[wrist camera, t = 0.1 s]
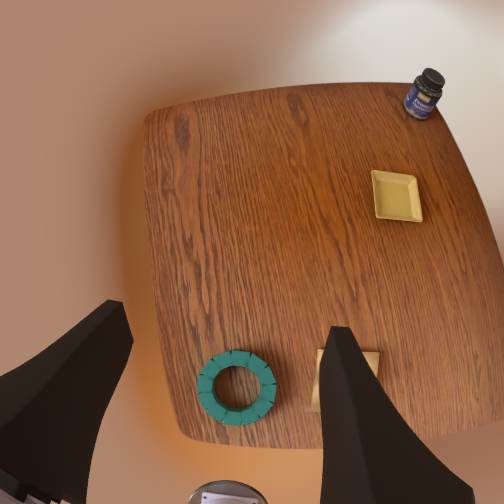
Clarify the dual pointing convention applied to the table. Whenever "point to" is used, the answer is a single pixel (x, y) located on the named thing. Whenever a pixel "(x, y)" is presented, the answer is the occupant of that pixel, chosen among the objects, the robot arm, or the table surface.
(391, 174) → the saucer
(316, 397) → the holder
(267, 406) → the ring
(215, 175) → the table surface
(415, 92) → the pill bottle
